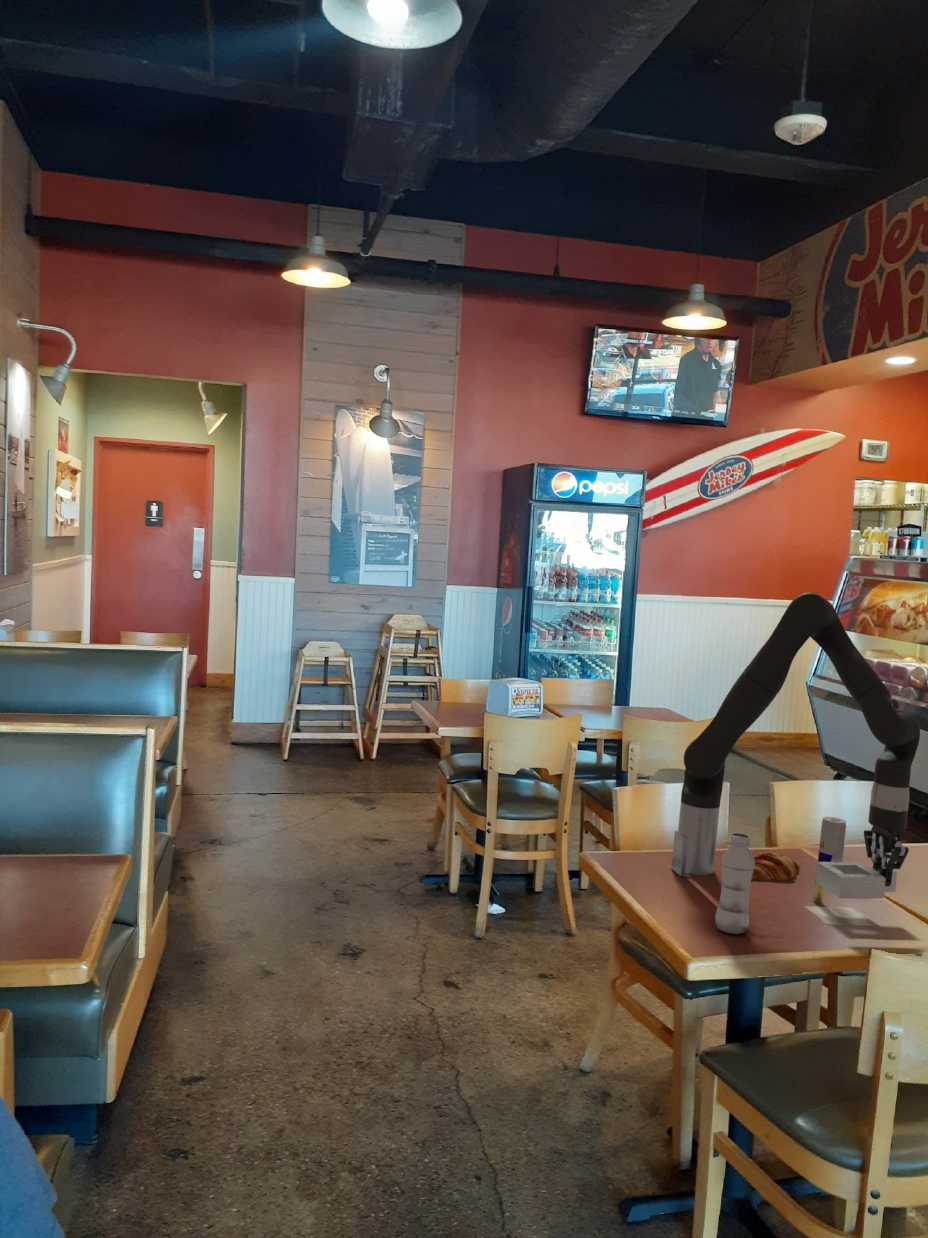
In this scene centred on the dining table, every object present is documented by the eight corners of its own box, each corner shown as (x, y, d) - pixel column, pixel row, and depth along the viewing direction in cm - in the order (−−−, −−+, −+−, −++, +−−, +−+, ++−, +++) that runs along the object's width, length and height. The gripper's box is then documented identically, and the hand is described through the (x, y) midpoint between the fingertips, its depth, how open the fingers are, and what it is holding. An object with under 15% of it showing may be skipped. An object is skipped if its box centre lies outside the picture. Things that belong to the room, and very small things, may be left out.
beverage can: (836, 876, 233) (842, 817, 233) (843, 883, 228) (849, 823, 227) (813, 873, 234) (819, 815, 233) (819, 881, 228) (826, 821, 228)
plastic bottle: (709, 925, 193) (718, 830, 192) (740, 926, 193) (750, 832, 192) (720, 937, 186) (730, 839, 185) (753, 939, 187) (762, 841, 186)
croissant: (786, 882, 236) (776, 851, 239) (819, 875, 229) (809, 843, 232) (734, 893, 224) (725, 860, 226) (769, 886, 216) (758, 851, 219)
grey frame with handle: (839, 898, 195) (841, 877, 195) (815, 882, 205) (817, 861, 205) (905, 898, 197) (907, 877, 197) (878, 882, 207) (880, 862, 207)
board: (820, 930, 195) (820, 924, 194) (778, 897, 213) (778, 892, 213) (891, 933, 197) (891, 927, 197) (843, 900, 215) (843, 894, 215)
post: (815, 904, 208) (819, 868, 207) (811, 900, 210) (814, 865, 209) (823, 904, 208) (827, 869, 207) (819, 901, 210) (822, 866, 209)
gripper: (855, 795, 207) (847, 872, 208) (891, 812, 193) (883, 894, 194) (886, 797, 208) (878, 873, 209) (925, 814, 194) (916, 895, 195)
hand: (881, 883), depth 202 cm, fingers closed on grey frame with handle, 2 cm apart
